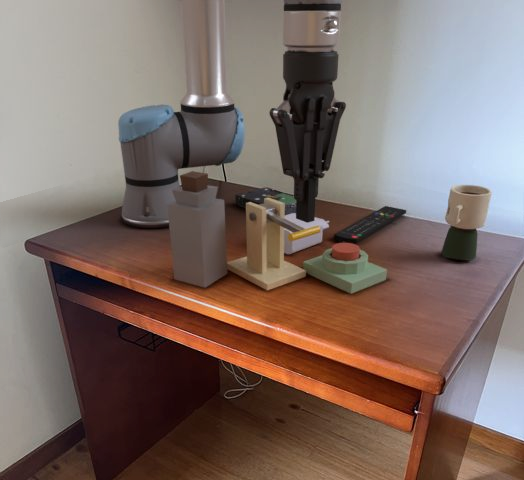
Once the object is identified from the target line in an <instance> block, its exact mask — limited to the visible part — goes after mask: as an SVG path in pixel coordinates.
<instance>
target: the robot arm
mask: <svg viewBox="0 0 524 480" xmlns="http://www.w3.org/2000/svg"><path fill="white" fill-rule="evenodd" d="M342 1H343V0H283V27H282V28H283V30H282V31H283V33H282V45H283V46H284V47H287V48H286V49H287V50H285V51H284V53H283V54H282V79H283V81H284V83H285V90H284V93H283V97H282V100H283V101H282V102H281V103H280V105H279V106H277V107H276V108H275V107H272V108H270V109H269V113H268V114H269V116H270V119H271V120H272V122H273V124H274V127H275V134H276V139H277V144H278V145H277V146H278V151H279V156H280V162H281V168H282V173H283V175H285V176H288V177H291V178H293V196H294V199H295V200H296V219H299V220H301V221H304V222H307V223H308V222H312V221H314V219H315V217H316V216H315V215H316V198H318V194H319V179H323V178H324V177H325V175H326V174H325V173H323V172H328V171H329V170H330V169H331V164H332V159H333V155H334V150H335V145H336V141H337V136H338V132H339V127H340V122H341V118H342V117H343V115H344V113H345V110H346V108H347V103H346V102H345V101H339V99H337V97H335V94H336V93H335V89H334V82H336V81H337V79H338V72H339V71H338V70H339V56H340V55H339V53H338V50H335V47H338V46H339V45H340V34H341V33H340V32H341V16H342ZM225 2H226V1H225V0H180V6H181V21H182V37H183V50H184V52H183V53H184V54H183V55H184V64H185V65H184V69H185V85H186V93H185V95H184V96H183V97H182V98H181V100H180V111H174V109H173V107H172V106H171V105H169V104H157V105H155V104H154V105H147V106H142V107H137V108H134V109H131V110H128V111H126V112H124V113H122V114H121V115H120V116H119V117H118V118H119V119H118V122H117V123H118V125H117V126H118V141H119V144H120V151H121V158H122V164H123V165H122V166H123V172H124V181H125V191H124V196H123V201H122V207H121V219H122V222H123V223H124V224H126V225H127V226H130V227H134V228H139V229H162V228H169V218H168V208H167V204H169V203H172V202H174V201H176V200H175V198H174V195H173V192H172V190H173V189H176V188H179V187H181V185H180V184H181V183H180V181H179V170H181V169H191V168H199V167H201V168H202V167H208V166H209V167H211V166H215V167H219V166H221V165H225V164H232V163H234V162H236V161H237V160H238V158H239V157H240V155H241V153H242V151H243V147H244V144H245V143H244V142H245V134H246V131H245V129H246V127H245V122H244V116H243V113H242V112H241V111H242V110H241V109H239V108H238V107H236V106H235V100H234V98H233V97H232V96H231V95H230V94H229V93H228V79H227V78H228V77H227V74H228V73H227V41H226V40H227V39H226V38H227V37H226V10H225Z"/></svg>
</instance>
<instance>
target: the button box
mask: <svg viewBox="0 0 524 480" xmlns="http://www.w3.org/2000/svg"><path fill="white" fill-rule="evenodd" d="M302 269H304V270H306V275H309V276H312V277H314V278H315V279H318V280H319V281H322V282H325V283H326V284H329V285H331V286H333V287H334V288H337V289H339V290H342V291H344V292H346V293H348V294H350V295H351V294H354V293H357V292H359V291H361V290H364V289H366V288H369V287H372V286H375V285H376V284H379V283H382V282H384V281H386V280H387V274H388V269H387V268H384V267H382V266H379V265H377V264H374V263H372V262H369V255H368V254H367V253H366V251H364V250H362V249H360V252H359V259H357V260H354V261H341V260H336V259H334V258H332V247H331V248H328V249H325V250H324V251H323V253H322V255H319V256H316V257H313V258H309V259H307V260H304V261H303V262H302Z"/></svg>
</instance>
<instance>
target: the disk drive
mask: <svg viewBox="0 0 524 480" xmlns="http://www.w3.org/2000/svg"><path fill="white" fill-rule="evenodd" d="M234 198H235V199H234V201H235V205H237V206H239V207H242V208H244V209H246V203H248V202H252V203H255V204H257V205H260V204H264V198H271V199H274V200H277V201H280V202H282V203H285V215H288V214H291V213H296V200H295V199H294V194H290V193H286V192H283V191H280V190H277V189H274V188H271V187H268V186H267V187H265V186H264V187H262V188H257V189H253V190H249V191H247V193H245V192H240V193H236V194H235V196H234Z"/></svg>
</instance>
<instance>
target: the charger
mask: <svg viewBox="0 0 524 480" xmlns="http://www.w3.org/2000/svg"><path fill="white" fill-rule="evenodd" d="M284 219H286V220H288V221H290V222H292V223H294V224H296V225H298V226H300V227H302V228H304V229H307V228H311V227H314V226H319V227H320V233H317V234H314V235H310V236H307V237H304V238H301V239H297V240H294V241H289V239H288V235H289V234H290V233H293V232H291V231H289V230H287V229H285V228H284V254H286V255H292V254H295V253H297V252H300V251H302V250H305V249H308V248H310V247H313V246H316V245H318V244H321V243H322V242H323V234H324V233H323V232H324V231H326V230H328V229H329V228H330V225H329V223H330V220H325V219H324V218H319V217H316V216H315V219H314V221H312V222H308V223H307V222H304V221H301V220H299V219H296V213H291V214H288V215H285V218H284Z"/></svg>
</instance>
